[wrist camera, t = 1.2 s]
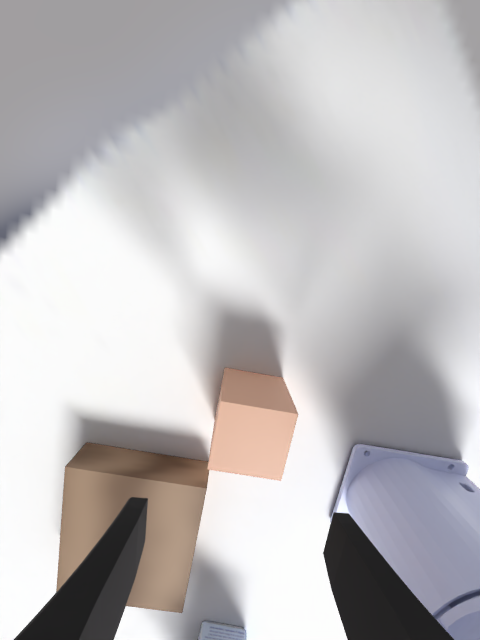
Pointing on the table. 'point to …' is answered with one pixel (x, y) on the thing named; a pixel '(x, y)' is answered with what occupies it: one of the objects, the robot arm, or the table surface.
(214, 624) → the medicine box
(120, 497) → the walnut block
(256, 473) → the terracotta block
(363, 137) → the table surface
